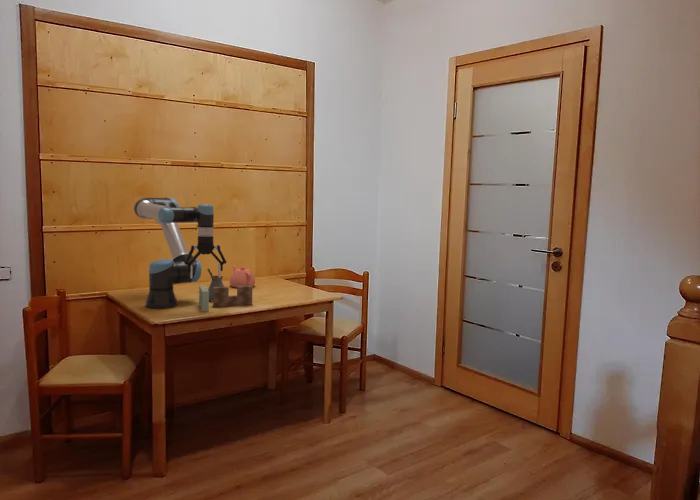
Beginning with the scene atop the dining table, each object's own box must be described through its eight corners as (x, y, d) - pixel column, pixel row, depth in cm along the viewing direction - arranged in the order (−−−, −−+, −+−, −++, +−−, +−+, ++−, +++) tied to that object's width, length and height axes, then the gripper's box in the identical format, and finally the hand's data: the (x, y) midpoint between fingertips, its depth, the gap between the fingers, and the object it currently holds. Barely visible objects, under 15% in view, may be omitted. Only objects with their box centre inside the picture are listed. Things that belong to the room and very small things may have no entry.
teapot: (221, 284, 332) (222, 264, 330) (243, 282, 342) (244, 263, 340) (238, 290, 315) (239, 270, 314) (261, 288, 325) (262, 268, 324)
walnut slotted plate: (213, 307, 273) (213, 288, 272) (212, 305, 276) (213, 287, 275) (252, 305, 281) (252, 286, 279) (250, 303, 283) (251, 285, 282)
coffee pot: (230, 301, 288) (230, 274, 286) (209, 302, 282) (209, 275, 280) (217, 293, 306) (217, 267, 304) (197, 294, 300) (197, 268, 298)
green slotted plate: (202, 311, 264) (202, 291, 262) (199, 304, 277) (199, 286, 275) (208, 311, 265) (208, 291, 264) (205, 304, 278) (205, 285, 276)
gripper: (179, 236, 253) (180, 280, 256) (232, 236, 263) (232, 278, 265) (178, 234, 260) (178, 277, 263) (229, 234, 270) (229, 275, 272)
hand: (205, 277), depth 264 cm, fingers open, 13 cm apart
